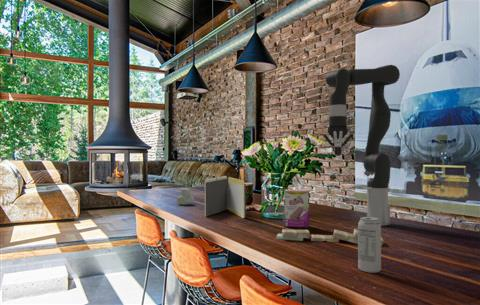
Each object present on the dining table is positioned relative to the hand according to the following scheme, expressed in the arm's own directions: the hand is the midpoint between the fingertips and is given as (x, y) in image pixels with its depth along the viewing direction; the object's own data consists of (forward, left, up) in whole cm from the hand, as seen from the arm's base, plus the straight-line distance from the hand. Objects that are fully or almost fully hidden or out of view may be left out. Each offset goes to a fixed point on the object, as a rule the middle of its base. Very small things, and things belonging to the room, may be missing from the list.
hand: (337, 155), depth 159 cm
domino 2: (+20, +17, -30) cm, 39 cm away
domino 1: (+22, +16, -32) cm, 42 cm away
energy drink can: (+17, +55, -32) cm, 66 cm away
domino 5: (-4, +28, -31) cm, 42 cm away
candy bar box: (+16, -8, -32) cm, 37 cm away
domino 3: (+10, +20, -31) cm, 39 cm away
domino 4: (+3, +25, -31) cm, 40 cm away
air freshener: (+62, -88, -32) cm, 113 cm away
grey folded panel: (+44, -48, -32) cm, 73 cm away
